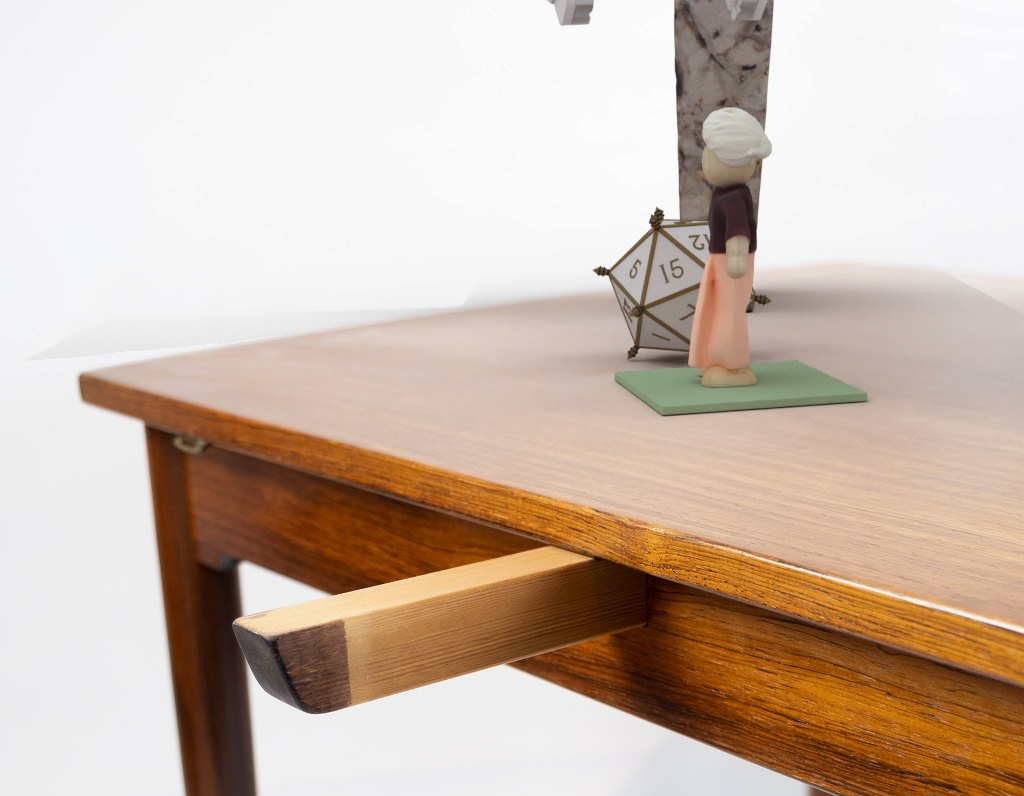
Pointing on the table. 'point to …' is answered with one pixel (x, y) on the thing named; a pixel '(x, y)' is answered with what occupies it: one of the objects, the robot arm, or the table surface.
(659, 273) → the game die
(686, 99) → the stone block
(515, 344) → the table surface
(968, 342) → the table surface
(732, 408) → the mat
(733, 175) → the grandmother figurine
